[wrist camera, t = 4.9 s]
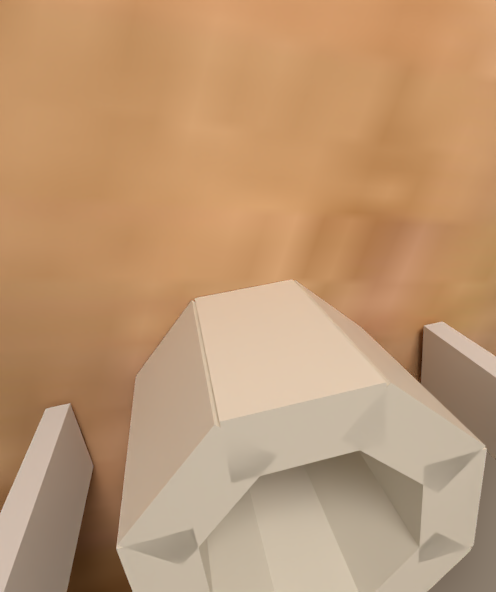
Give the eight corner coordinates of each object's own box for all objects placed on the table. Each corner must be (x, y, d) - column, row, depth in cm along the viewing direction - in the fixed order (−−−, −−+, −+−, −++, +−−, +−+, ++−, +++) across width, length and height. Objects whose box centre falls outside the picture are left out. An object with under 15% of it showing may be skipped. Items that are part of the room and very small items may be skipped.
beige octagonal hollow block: (180, 536, 16) (189, 740, 11) (116, 313, 12) (79, 454, 7) (365, 486, 17) (459, 649, 12) (361, 266, 13) (499, 355, 8)
